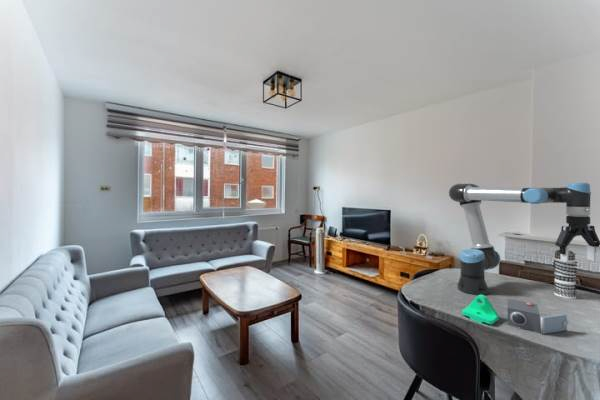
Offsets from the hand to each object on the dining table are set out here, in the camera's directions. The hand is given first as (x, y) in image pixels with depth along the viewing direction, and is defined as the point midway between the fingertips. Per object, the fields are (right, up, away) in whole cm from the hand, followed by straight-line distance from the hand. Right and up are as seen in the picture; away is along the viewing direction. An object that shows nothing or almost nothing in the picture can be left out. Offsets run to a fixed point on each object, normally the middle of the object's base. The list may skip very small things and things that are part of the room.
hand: (577, 260), depth 116 cm
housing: (-33, -26, -8) cm, 42 cm away
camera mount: (-49, -26, -3) cm, 56 cm away
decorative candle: (+14, -24, +19) cm, 34 cm away
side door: (-27, -25, -16) cm, 40 cm away
